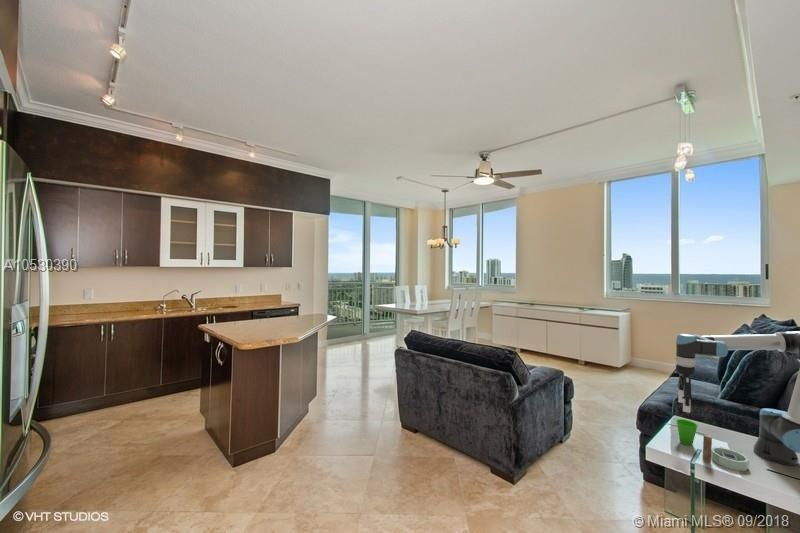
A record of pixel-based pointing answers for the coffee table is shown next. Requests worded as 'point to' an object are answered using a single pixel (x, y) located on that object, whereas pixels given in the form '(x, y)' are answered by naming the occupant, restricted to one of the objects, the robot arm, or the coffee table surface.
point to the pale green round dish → (729, 458)
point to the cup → (686, 431)
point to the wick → (707, 448)
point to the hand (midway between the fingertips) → (684, 407)
